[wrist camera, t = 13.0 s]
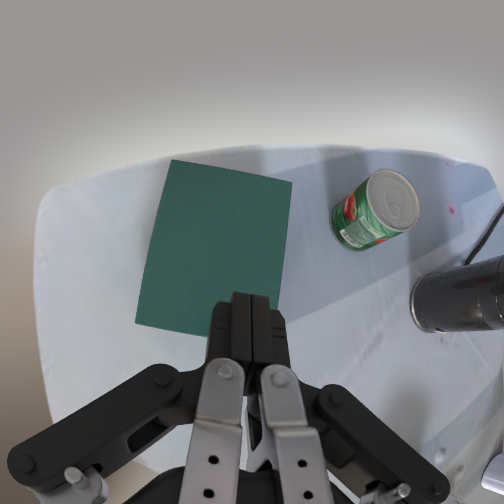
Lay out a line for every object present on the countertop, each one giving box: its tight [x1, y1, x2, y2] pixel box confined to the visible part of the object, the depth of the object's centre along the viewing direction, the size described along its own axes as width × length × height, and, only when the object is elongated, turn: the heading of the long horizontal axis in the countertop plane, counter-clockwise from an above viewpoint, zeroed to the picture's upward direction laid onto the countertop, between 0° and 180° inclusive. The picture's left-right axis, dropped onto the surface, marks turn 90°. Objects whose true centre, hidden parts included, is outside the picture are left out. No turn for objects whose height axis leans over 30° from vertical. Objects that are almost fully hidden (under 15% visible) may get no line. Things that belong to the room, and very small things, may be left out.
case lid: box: [135, 160, 292, 337], centre depth 29 cm, size 16×13×1 cm
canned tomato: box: [330, 169, 420, 252], centre depth 38 cm, size 8×8×11 cm
